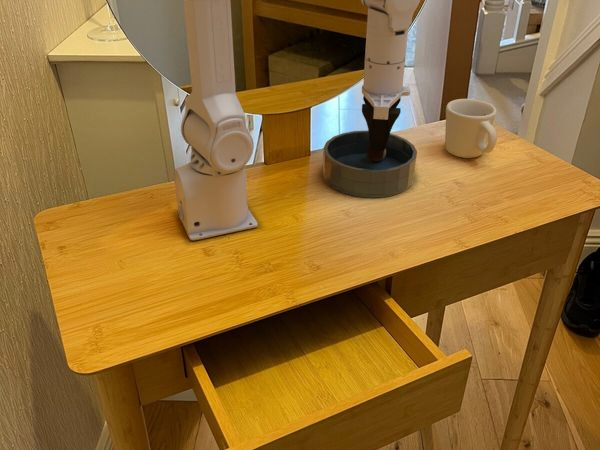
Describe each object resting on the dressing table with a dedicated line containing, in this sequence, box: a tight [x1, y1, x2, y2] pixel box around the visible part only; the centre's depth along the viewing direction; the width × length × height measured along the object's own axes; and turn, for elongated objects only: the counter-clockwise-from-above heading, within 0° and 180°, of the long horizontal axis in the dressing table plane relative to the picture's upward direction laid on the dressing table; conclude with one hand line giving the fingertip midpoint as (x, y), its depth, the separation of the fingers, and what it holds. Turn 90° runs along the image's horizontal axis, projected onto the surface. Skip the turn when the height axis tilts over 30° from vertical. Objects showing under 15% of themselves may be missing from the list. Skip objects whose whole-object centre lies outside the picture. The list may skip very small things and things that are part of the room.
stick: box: [367, 141, 384, 160], centre depth 96 cm, size 3×3×8 cm
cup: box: [444, 98, 498, 159], centre depth 102 cm, size 11×8×8 cm
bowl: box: [322, 130, 418, 199], centre depth 97 cm, size 14×14×4 cm
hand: (378, 144), depth 97 cm, fingers closed on stick, 2 cm apart
